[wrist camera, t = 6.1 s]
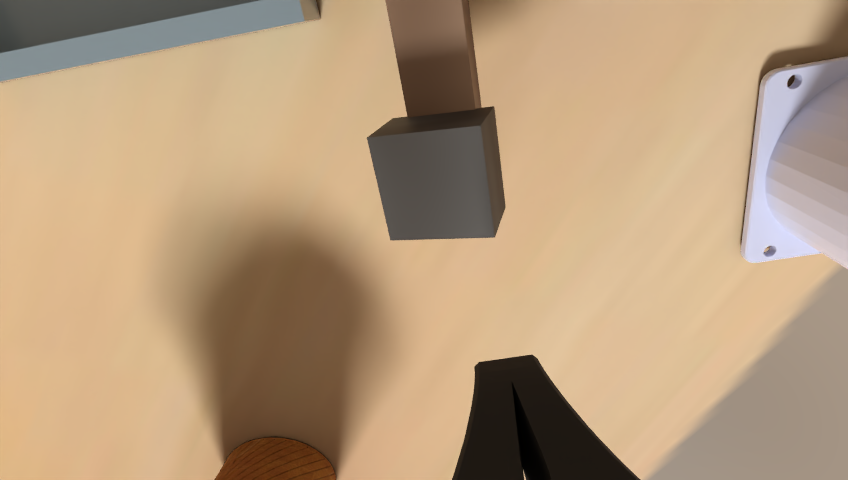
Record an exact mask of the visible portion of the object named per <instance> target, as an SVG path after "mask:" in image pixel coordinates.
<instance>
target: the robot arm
mask: <svg viewBox="0 0 848 480" xmlns="http://www.w3.org/2000/svg"><path fill="white" fill-rule="evenodd" d="M792 75H795V80H794V83H793V84H792V85H791V86H789V87H787V82H788V79H789V78H790V77H791V76H792ZM769 246H770V249H769V250H768V251H766V252H764V250H765V249H766V248H767V247H769ZM763 252H764V253H763ZM819 253H823V254H824V255H826V256H828V257H829V258H831V259H832V260H834V261H836V262H837V263H839V264H840V265H842V266H844V267H845V268H847V269H848V56H846V57H840V58H834V59H829V60H823V61H817V62H812V63H806V64H800V65H794V66H789V67H783V68H777V69H774V70H771V71H769V72H768V73H767V74H766V75H765V76H764V77H763V79H762V81H761V84H760V90H759V99H758V107H757V116H756V124H755V133H754V142H753V150H752V159H751V167H750V176H749V184H748V193H747V201H746V210H745V219H744V227H743V236H742V244H741V255H742V257H743V258H744V259H745V260H747V261H748V262H751V263H758V262H764V261H771V260H778V259H785V258H792V257H799V256H805V255H812V254H819ZM523 470H524V474H525V477H526V480H640V479H639V478H638V477H637V476H636V475H635V474H634V473H633V472H632V471H631V470H630V469H628V468H627V467H626V466H625V465H624V464H623V463H622V462H621V461H620V460H619V459H618V458H617V457H616V456H615V455H614V454H613V453H612V451H611V450H610V449H609V448H608V447H607V446H606V445H605V444H604V443H603V442H602V441H601V440H600V439H599V438H598V437H597V436H596V435H595V433H594V432H593V431H592V430H591V429H590V428H589V427H588V426H587V424H586V423H585V422H584V421H583V420H582V419H581V417H580V416H579V415H578V414H577V413H576V411H575V410H574V409H573V408H572V407H571V406H570V404H569V403H568V402H567V401H566V399H565V398H564V397H563V395H562V394H561V393H560V392H559V390H558V389H557V388H556V386H555V385H554V384H553V382H552V381H551V379H550V378H549V376H548V375H547V374H546V372H545V371H544V369H543V367H542V366H541V364H540V363H539V361H538V359H537V358H536V357H535V356H533V355H526V356H519V357H512V358H505V359H498V360H491V361H484V362H479V363H478V364H477V365H476V366H475V384H474V394H473V400H472V407H471V412H470V416H469V421H468V425H467V430H466V435H465V438H464V442H463V446H462V449H461V452H460V456H459V459H458V463H457V466H456V469H455V472H454V476H453V478H452V480H524V475H523Z"/></svg>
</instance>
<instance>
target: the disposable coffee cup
mask: <svg viewBox="0 0 848 480" xmlns="http://www.w3.org/2000/svg"><path fill="white" fill-rule="evenodd" d="M215 480H336V476H335V472H334V469H333V467H332V466H331V464H330V462H329V461H328V460H327V459H326V458H325V457H324V456H323V455H322V454H321V453H320V452H318V451H317V450H316V449H314V448H312V447H310V446H308V445H306V444H304V443H301V442H298V441H295V440H290V439H285V438H272V437H269V438H260V439H256V440H252V441H249V442H246V443H244V444H242V445H241V446H239V447H238V448H236V449H235V450H234V451H233V452H232V453H231V454H230V455H229V457H228V458H227V460H226V462H225V464H224V465H223V467H222V468H221V470H220V472H219V474H218V475H217V477H216V478H215Z"/></svg>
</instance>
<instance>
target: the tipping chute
mask: <svg viewBox="0 0 848 480" xmlns="http://www.w3.org/2000/svg"><path fill="white" fill-rule="evenodd" d="M386 5H387V10H388V16H389V21H390V26H391V32H392V37H393V42H394V47H395V53H396V58H397V63H398V68H399V74H400V79H401V84H402V90H403V95H404V100H405V105H406V111H407V116H408V117H401V118H393V119H392V120H390V121H389V122H387V123H386V124H385V125H383V126H382V127H381V128H379V129H378V130H377V131H375V132H374V133H373V134H371V135H370V136H369V137H367V140H368V144H369V148H370V153H371V157H372V162H373V166H374V170H375V175H376V179H377V183H378V188H379V192H380V196H381V201H382V205H383V209H384V214H385V218H386V223H387V227H388V231H389V236H390V240H420V239H455V238H490V237H495V235H496V232H497V230H498V227H499V224H500V221H501V218H502V215H503V213H504V210H505V198H504V190H503V181H502V172H501V163H500V154H499V145H498V136H497V127H496V118H495V110H494V106H493V107H485V108H481V100H480V92H479V83H478V75H477V67H476V59H475V51H474V43H473V35H472V27H471V19H470V11H469V3H468V0H386Z"/></svg>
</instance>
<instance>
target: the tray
mask: <svg viewBox="0 0 848 480" xmlns="http://www.w3.org/2000/svg"><path fill="white" fill-rule="evenodd" d="M314 20H320V15H319V11H318V7H317V3H316V0H0V83H1V82H6V81H11V80H16V79H21V78H26V77H31V76H36V75H41V74H47V73H52V72H57V71H62V70H67V69H72V68H77V67H82V66H87V65H92V64H97V63H102V62H107V61H112V60H117V59H122V58H127V57H132V56H138V55H143V54H148V53H153V52H158V51H163V50H168V49H173V48H178V47H183V46H188V45H193V44H198V43H203V42H208V41H213V40H218V39H223V38H229V37H234V36H239V35H244V34H249V33H254V32H259V31H264V30H269V29H274V28H279V27H284V26H289V25H294V24H299V23H304V22H309V21H314Z"/></svg>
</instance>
